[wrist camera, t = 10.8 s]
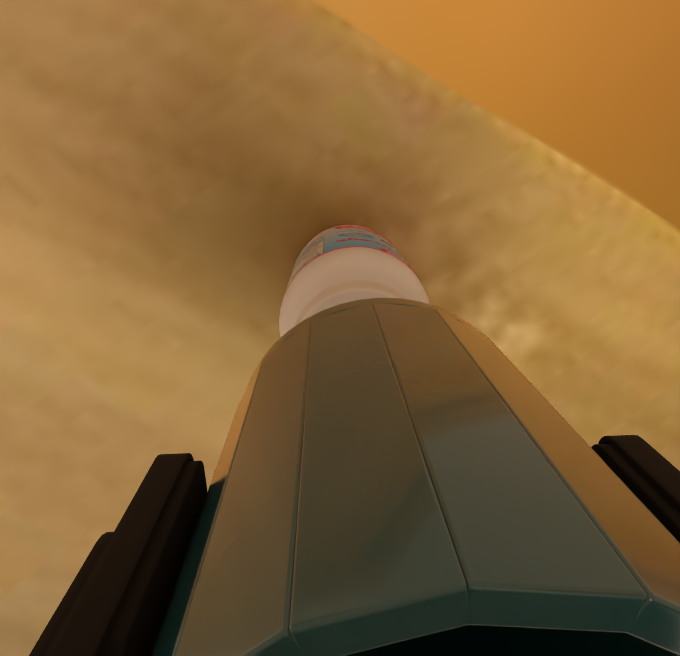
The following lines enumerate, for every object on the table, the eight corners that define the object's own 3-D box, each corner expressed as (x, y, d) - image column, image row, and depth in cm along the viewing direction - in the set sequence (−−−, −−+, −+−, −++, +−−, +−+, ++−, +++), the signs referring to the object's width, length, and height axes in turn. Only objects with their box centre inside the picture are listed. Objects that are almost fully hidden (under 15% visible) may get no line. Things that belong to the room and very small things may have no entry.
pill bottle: (425, 268, 27) (491, 339, 16) (356, 351, 28) (376, 467, 18) (336, 198, 26) (346, 226, 15) (268, 290, 27) (234, 374, 16)
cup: (195, 481, 12) (-2, 978, 5) (321, 242, 11) (317, 445, 3) (424, 576, 14) (550, 1091, 6) (572, 376, 12) (1012, 759, 4)
